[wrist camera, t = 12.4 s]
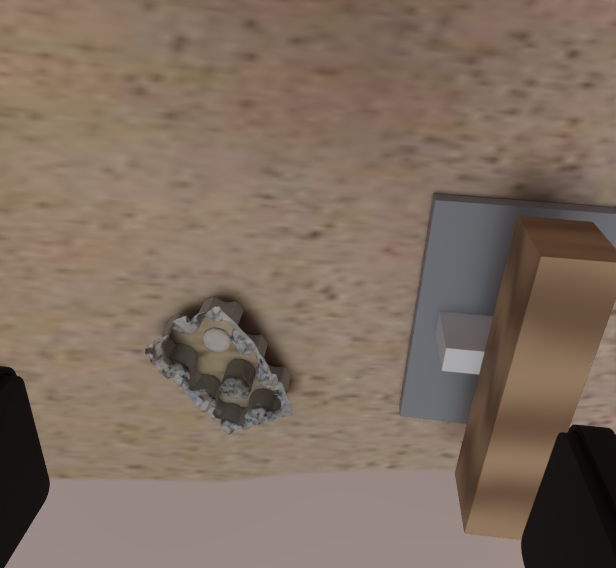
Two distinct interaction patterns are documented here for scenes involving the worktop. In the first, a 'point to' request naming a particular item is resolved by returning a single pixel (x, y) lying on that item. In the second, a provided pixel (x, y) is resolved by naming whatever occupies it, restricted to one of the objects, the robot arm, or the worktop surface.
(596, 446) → the robot arm
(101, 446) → the worktop surface
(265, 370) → the egg carton
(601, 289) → the beam
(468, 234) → the fulcrum board
